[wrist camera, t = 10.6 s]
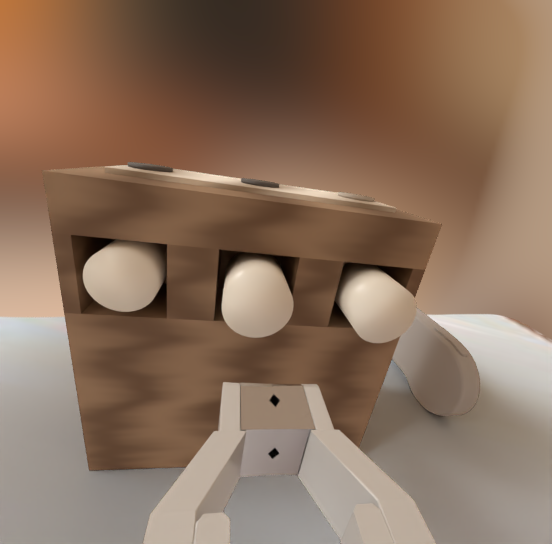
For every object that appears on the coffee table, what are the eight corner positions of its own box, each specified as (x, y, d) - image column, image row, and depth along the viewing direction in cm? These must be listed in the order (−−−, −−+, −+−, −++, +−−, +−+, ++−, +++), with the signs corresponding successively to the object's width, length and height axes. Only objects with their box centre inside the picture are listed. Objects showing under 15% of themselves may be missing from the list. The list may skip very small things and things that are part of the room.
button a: (86, 309, 14) (78, 244, 13) (117, 278, 18) (113, 225, 17) (158, 313, 15) (157, 252, 14) (173, 283, 19) (174, 232, 17)
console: (88, 470, 19) (40, 158, 12) (131, 380, 27) (118, 158, 20) (353, 460, 23) (445, 215, 15) (324, 383, 31) (375, 195, 23)
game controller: (462, 433, 27) (499, 367, 24) (442, 434, 27) (478, 367, 24) (369, 324, 45) (384, 277, 42) (357, 323, 44) (371, 276, 41)
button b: (346, 341, 15) (363, 283, 14) (325, 306, 19) (337, 257, 18) (404, 344, 16) (426, 288, 15) (373, 309, 20) (388, 262, 18)
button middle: (219, 336, 14) (224, 271, 13) (222, 299, 18) (227, 246, 16) (287, 339, 15) (299, 278, 13) (277, 303, 18) (285, 252, 17)
